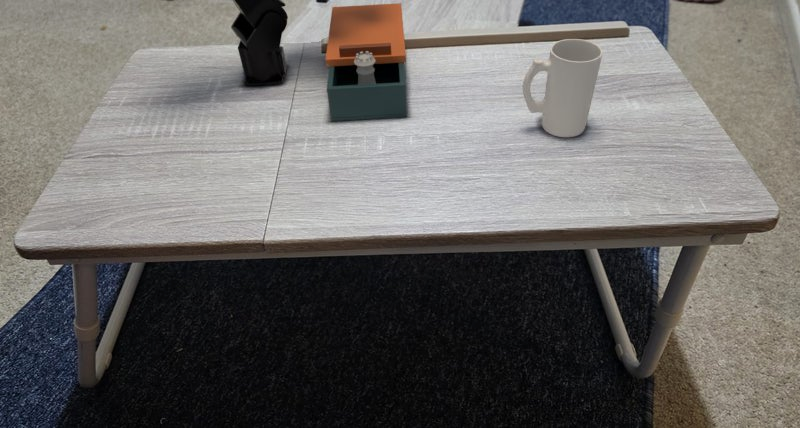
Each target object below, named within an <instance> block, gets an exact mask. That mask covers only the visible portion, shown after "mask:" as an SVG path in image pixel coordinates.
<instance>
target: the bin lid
mask: <svg viewBox="0 0 800 428" xmlns="http://www.w3.org/2000/svg"><path fill="white" fill-rule="evenodd" d="M402 7H403V6H402V3H400V2H399V3H398V2H397V3H382V4H364V5H362V4H361V5H344V6H332V8H331V14H330V22H329V31H328V36H327V37H328V38H327V46H326V51H325V52H326V53H325V66H326V67H327V68H329V66H348V65H355V63H354V60H355V58H356V54H357V53H358V54H359V55H360V52H362V51H363V54H366V51H369V54H370V53H372V54H373V57H374V58H375V63H374V64H384V63H402V62H404V63H407V55H406V43H405V41H406V40H405V32H404V31H405V29H404V21H403V20H404V19H403V8H402Z"/></svg>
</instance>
